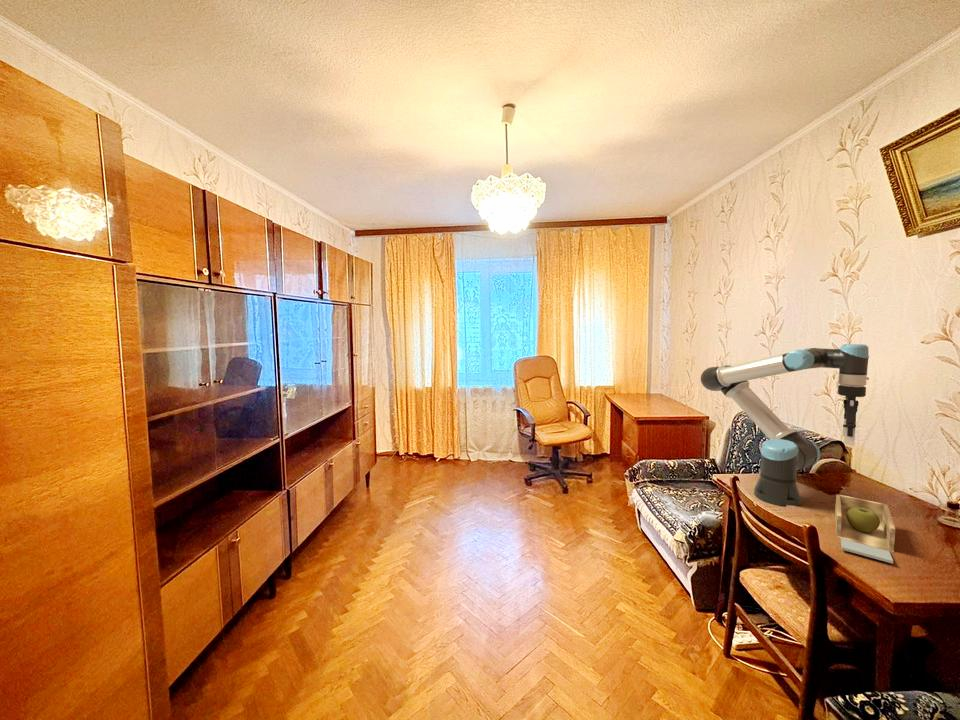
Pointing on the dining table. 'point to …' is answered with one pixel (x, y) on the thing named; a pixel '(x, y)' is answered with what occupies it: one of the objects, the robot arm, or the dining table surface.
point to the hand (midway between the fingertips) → (848, 440)
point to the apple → (863, 519)
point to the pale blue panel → (866, 550)
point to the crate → (877, 538)
